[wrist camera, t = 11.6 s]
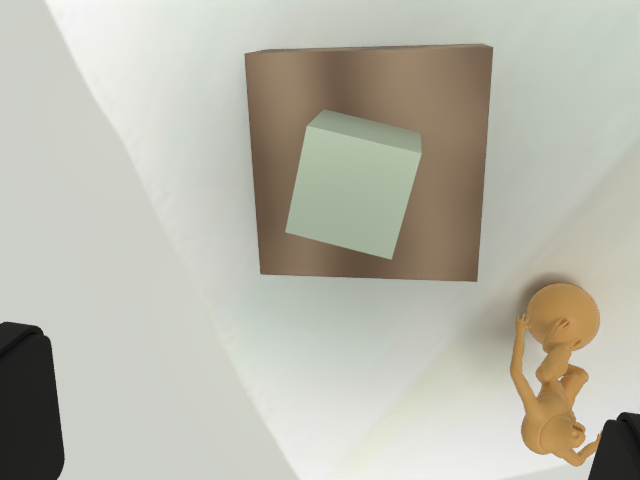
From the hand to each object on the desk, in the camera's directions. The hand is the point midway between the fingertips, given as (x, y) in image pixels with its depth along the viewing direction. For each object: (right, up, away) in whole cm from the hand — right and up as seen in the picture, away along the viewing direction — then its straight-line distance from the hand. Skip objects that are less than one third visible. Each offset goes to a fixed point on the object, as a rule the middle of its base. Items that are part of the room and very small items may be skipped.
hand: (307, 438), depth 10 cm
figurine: (+14, -1, +27) cm, 30 cm away
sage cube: (+2, +7, +20) cm, 22 cm away
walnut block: (+3, +9, +25) cm, 27 cm away
